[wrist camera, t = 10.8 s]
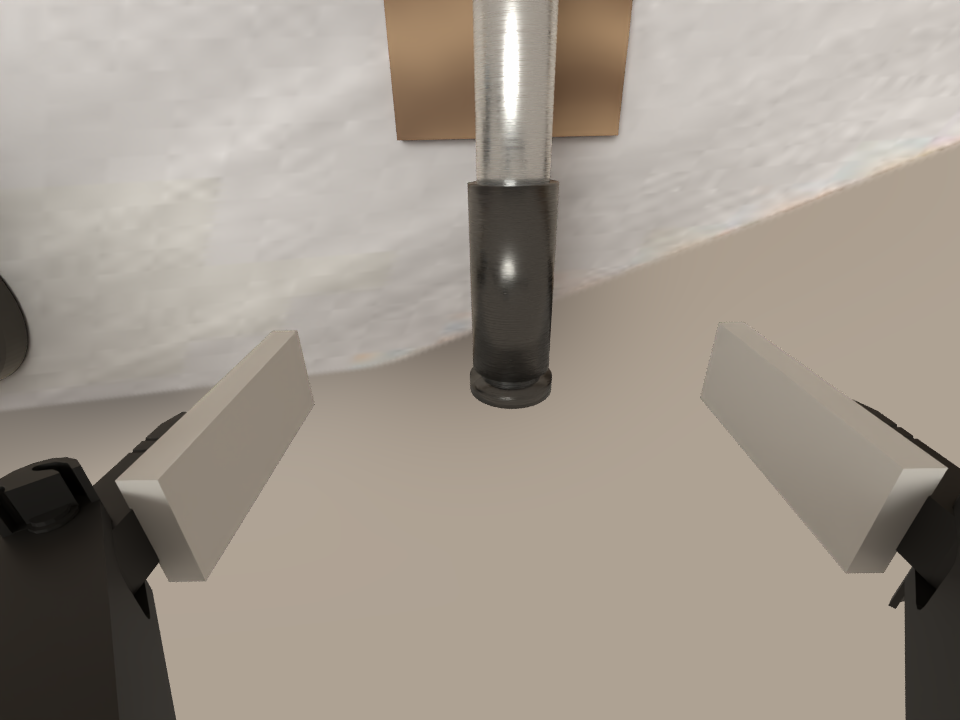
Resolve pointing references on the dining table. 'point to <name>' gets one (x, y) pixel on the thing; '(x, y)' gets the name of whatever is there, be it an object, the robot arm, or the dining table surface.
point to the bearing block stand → (450, 67)
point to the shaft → (513, 201)
